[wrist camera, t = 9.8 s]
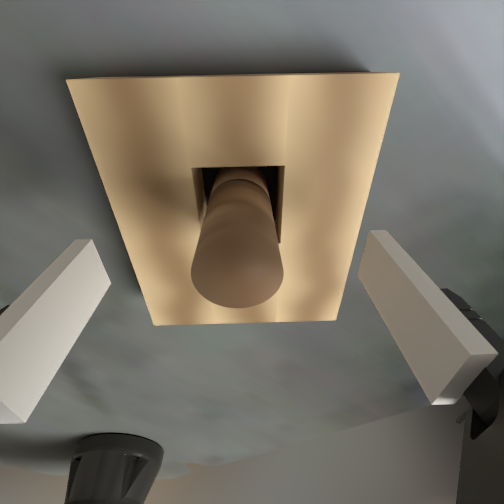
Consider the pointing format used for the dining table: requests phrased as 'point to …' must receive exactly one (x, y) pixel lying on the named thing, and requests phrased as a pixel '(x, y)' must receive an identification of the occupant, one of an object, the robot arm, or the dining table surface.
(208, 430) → the dining table surface
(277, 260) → the peg
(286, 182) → the board
